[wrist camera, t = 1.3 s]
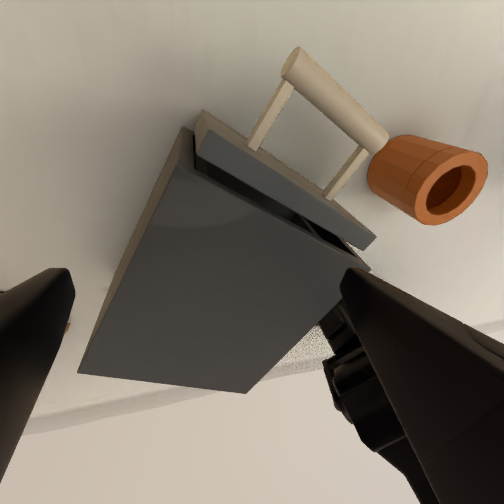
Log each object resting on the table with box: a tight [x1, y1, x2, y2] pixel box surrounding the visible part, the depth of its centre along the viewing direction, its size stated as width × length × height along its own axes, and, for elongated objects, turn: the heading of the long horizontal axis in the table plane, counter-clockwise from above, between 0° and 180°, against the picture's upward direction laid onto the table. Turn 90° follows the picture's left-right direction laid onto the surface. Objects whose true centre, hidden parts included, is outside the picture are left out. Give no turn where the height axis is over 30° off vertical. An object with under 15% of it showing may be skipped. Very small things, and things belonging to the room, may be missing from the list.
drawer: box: [194, 47, 389, 251], centre depth 18 cm, size 18×11×8 cm, turn 147°
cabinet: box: [77, 126, 371, 394], centre depth 19 cm, size 15×13×10 cm
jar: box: [368, 135, 488, 225], centre depth 20 cm, size 5×5×6 cm
